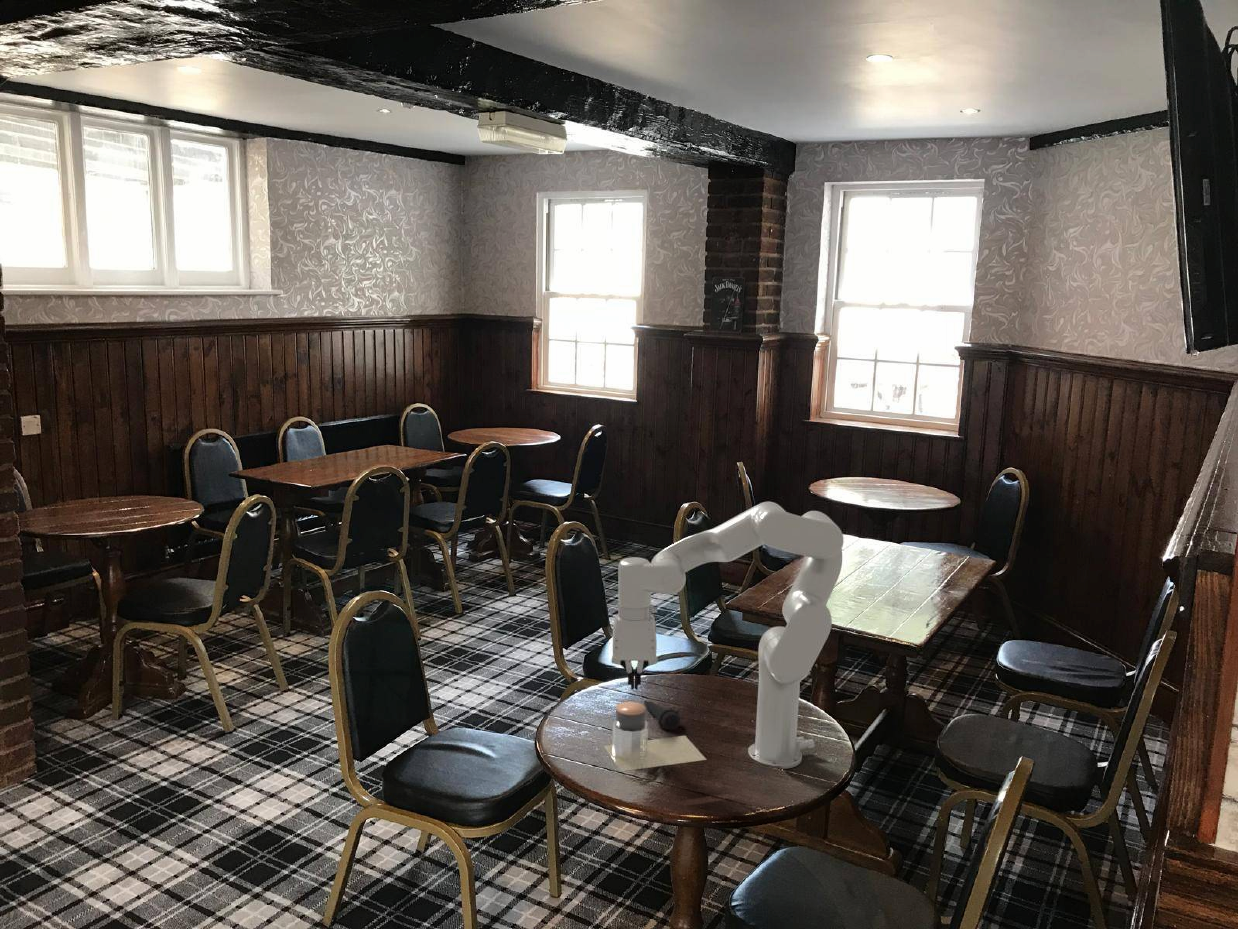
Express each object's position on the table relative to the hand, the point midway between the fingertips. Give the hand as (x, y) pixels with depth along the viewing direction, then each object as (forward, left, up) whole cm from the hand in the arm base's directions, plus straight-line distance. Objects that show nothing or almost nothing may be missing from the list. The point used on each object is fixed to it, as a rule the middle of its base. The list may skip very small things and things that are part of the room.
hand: (634, 687), depth 230 cm
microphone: (-14, -17, -18) cm, 29 cm away
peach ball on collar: (+1, 0, -12) cm, 12 cm away
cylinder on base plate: (-5, +2, -17) cm, 18 cm away
